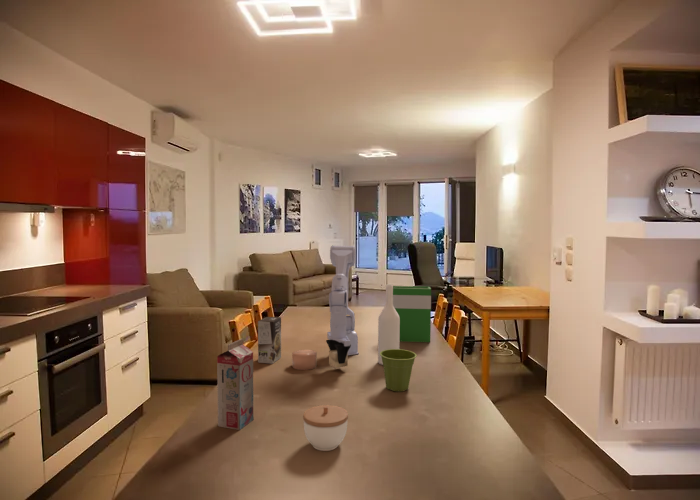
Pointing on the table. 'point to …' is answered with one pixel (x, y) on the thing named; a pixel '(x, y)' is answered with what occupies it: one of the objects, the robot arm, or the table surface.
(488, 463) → the table surface
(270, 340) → the coffee box
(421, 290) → the hardback book
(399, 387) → the plant pot
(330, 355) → the maple cube
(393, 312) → the bottle
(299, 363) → the salmon pink cylinder
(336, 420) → the lidded jar
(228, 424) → the juice carton
